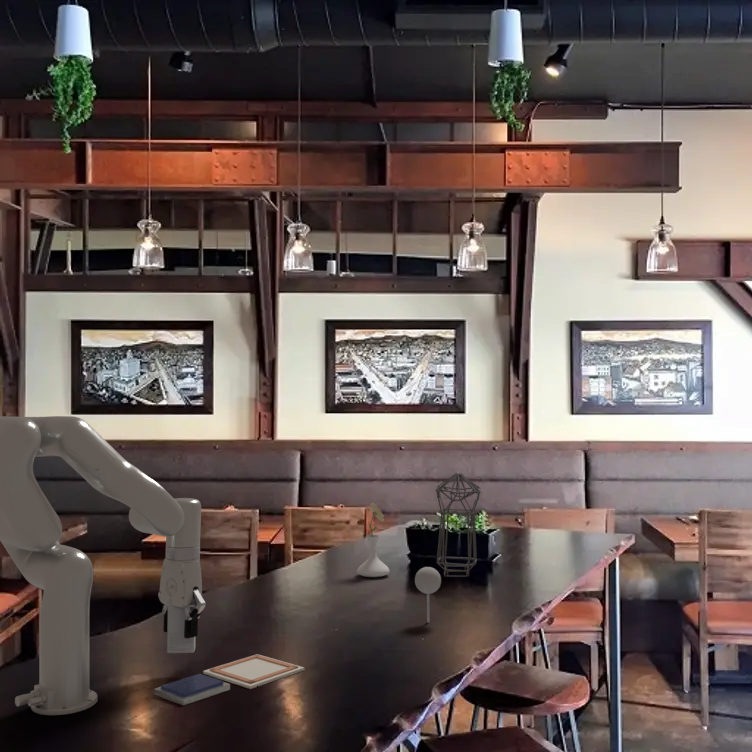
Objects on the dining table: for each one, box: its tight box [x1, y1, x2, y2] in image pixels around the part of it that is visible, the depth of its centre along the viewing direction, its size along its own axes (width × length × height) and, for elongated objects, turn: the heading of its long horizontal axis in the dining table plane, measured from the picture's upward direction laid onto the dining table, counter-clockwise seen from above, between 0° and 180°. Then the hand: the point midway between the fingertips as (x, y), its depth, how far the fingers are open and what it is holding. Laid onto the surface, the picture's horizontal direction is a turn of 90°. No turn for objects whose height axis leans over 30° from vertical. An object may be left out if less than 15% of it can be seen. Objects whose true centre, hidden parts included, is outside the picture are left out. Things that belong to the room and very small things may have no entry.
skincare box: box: [166, 599, 196, 654], centre depth 192 cm, size 6×4×12 cm
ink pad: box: [153, 673, 231, 706], centre depth 179 cm, size 12×10×2 cm
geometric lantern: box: [435, 472, 482, 578], centre depth 296 cm, size 16×16×35 cm
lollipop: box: [414, 566, 442, 624], centre depth 233 cm, size 7×7×15 cm
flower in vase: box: [356, 502, 390, 578], centre depth 295 cm, size 13×11×25 cm
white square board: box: [202, 653, 306, 690], centre depth 192 cm, size 16×16×1 cm
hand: (180, 633), depth 191 cm, fingers closed on skincare box, 6 cm apart
